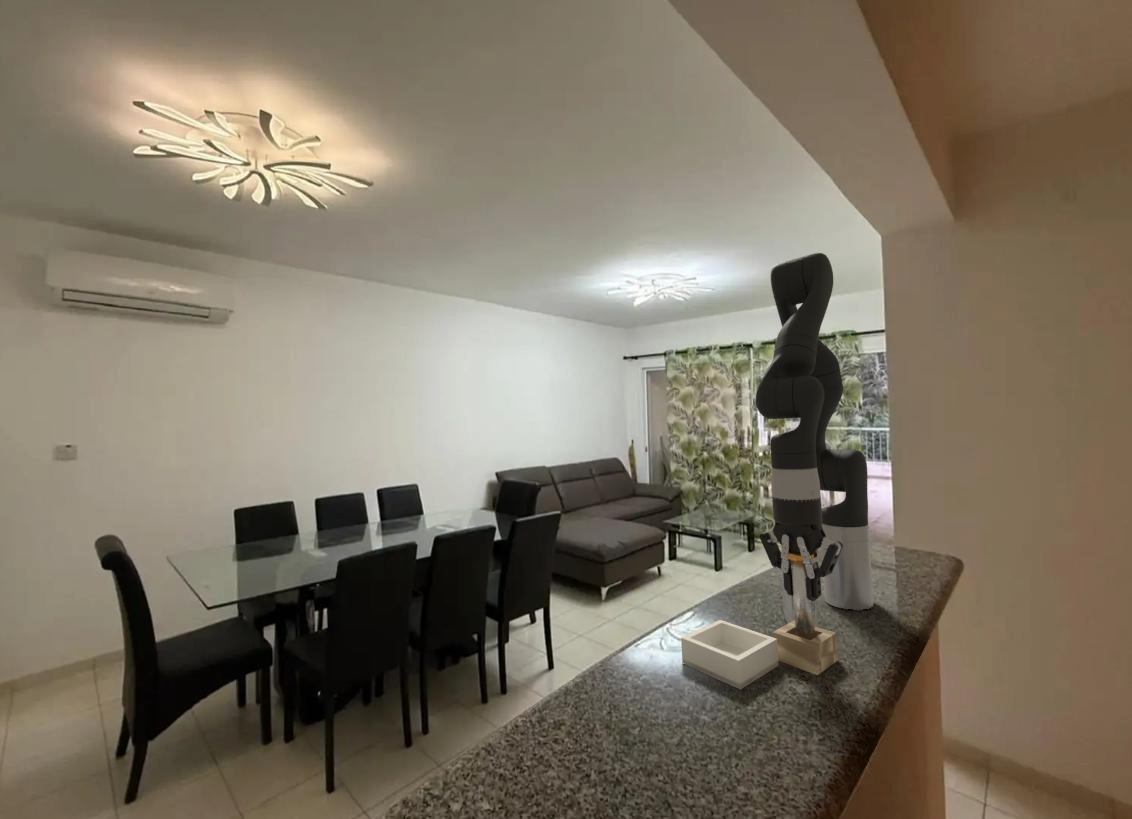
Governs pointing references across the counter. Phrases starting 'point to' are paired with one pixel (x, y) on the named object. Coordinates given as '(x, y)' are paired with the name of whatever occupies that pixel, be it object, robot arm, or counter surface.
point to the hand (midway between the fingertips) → (802, 596)
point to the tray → (730, 653)
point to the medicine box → (789, 606)
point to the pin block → (806, 648)
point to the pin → (801, 595)
